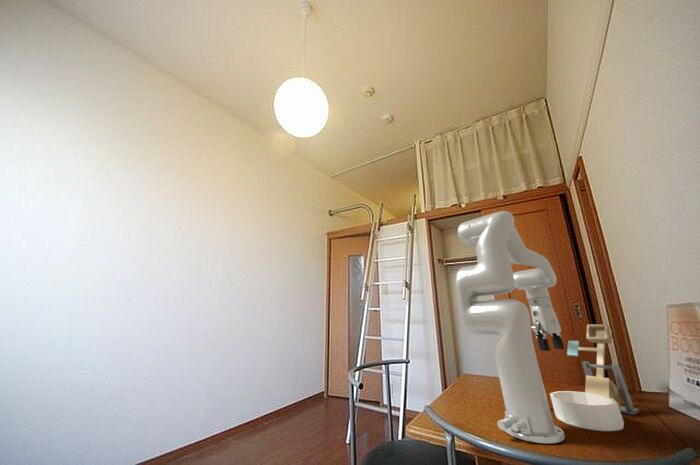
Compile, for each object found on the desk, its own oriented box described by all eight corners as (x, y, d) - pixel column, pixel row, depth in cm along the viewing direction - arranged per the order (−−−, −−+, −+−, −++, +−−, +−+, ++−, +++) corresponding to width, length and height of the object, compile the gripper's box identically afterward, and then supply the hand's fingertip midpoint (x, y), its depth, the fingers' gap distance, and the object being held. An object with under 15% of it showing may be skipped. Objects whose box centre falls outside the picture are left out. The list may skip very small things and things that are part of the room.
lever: (621, 410, 71) (607, 395, 70) (571, 399, 80) (559, 387, 80) (619, 337, 83) (607, 324, 82) (576, 336, 93) (565, 324, 92)
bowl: (610, 436, 58) (601, 409, 60) (545, 418, 70) (540, 396, 72) (633, 423, 64) (625, 399, 66) (570, 408, 76) (565, 388, 78)
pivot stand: (633, 415, 69) (616, 366, 73) (591, 406, 77) (577, 362, 81) (639, 411, 71) (622, 364, 75) (597, 403, 79) (584, 360, 83)
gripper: (537, 302, 95) (551, 352, 89) (561, 302, 103) (575, 348, 97) (517, 303, 101) (528, 350, 96) (541, 304, 109) (553, 347, 103)
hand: (552, 349), depth 96 cm, fingers open, 9 cm apart
